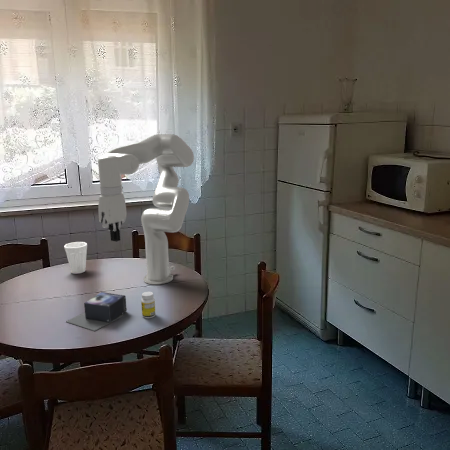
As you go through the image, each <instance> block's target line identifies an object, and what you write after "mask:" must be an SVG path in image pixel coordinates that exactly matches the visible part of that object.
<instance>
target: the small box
mask: <svg viewBox="0 0 450 450" xmlns="http://www.w3.org/2000/svg"><path fill="white" fill-rule="evenodd" d="M83 305H84V307H83V308H84V312H85V317H86V319H91V320H97V321H103V322H109V324H111V323H113V322H114V321H113V320H114V319H116V318H117V317H118V316H120V315H121V314H124V313H125V312H127V310H128V309H127V298H126V295H123V294H117V293H110V292H105V291H103V292H102V291H101V292H99V293H98V294H96V295H95V296H93V297H91V298H90V299H88V300H87V301H85V302H84V304H83ZM116 320H117V319H116ZM112 321H113V322H112ZM110 322H111V323H110Z"/></svg>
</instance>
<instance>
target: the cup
mask: <svg viewBox="0 0 450 450" xmlns="http://www.w3.org/2000/svg"><path fill="white" fill-rule="evenodd" d="M63 247H64V251H65V254H66V257H67V261H68V266H69V268H70V272H71V273H72V274H82V273H84V272H86V269H87V267H86V266H87V252H88V251H87V250H88V243H87V242H85V241H75V242H69V243H65V245H64V246H63ZM71 273H70V274H71Z"/></svg>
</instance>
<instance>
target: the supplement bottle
mask: <svg viewBox="0 0 450 450" xmlns="http://www.w3.org/2000/svg"><path fill="white" fill-rule="evenodd" d="M155 301H156V300H155V298H154V292H152V291H144V292H142V294H141V300H140V303H141V315H142V317H143V318H144V319H152V318H154V317H156V302H155Z"/></svg>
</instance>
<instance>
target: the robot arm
mask: <svg viewBox="0 0 450 450" xmlns="http://www.w3.org/2000/svg"><path fill="white" fill-rule="evenodd" d="M154 159H156V164H157V166H158V172H159V179H158V181H157V184H156V186H155V190H154V192H153V195H152V200H151V202H152V204H153V206H155V207H150V208H146V209H145V210H143V212H142V213H141V216H140V222H141V226H142V229H143V234H144V242H145V246H144V247H145V260H146V263H145V264H146V275H145V276H144V277H143V282H144V283H146V284H149V285H164V284H167V283H170V282H171V281H172V280H173V279H174V275H173V274H171V273H172V271H174V270H176V266H175V265H171V266H170V265H169V264H170V263H169V241H168V237H167V235H166V233H178V231H180V230H181V228H182V226H183V223H184V221H185V218H186V214H187V211H188V208H189V205H190V194H189V191H188V190H187V189H186V188H184V187H180V186H179V187H178V185H179V182H180V179H179V176H178V173H177V171H175V169H174V168H188V167H190V166H192V164H193V163H194V159H195V156H194V151H193V150H192V148H191V147H190V146H189V145H188V144H187V143H186V142H185V141H184V140H183V139H182V138H181V137H180V136H178V135H177V134H170V133H165V134H164V133H163V134H162V133H159V134H158V133H157V134H153V135H151V136H149V137H147V138H145V139H143V140H140V141H139V142H135V143H130V144H127V145H123V146H120V147H117V148H116V147H115V148H114V149H111V150H110V151H109V150H108V151H107V152H105V153H104V154H103V155H101V156H100V157H99V158H98V160H97V164H98V174H99V175H98V178H99V187H100V195H99V196H98V197H99V198H98V207H97V208H98V210H97V211H98V221H99V223H100V224H102V225H101V226H102V228H103V229H108V231H110V232H109V233H110V234H109V235H110V241H111V242H120V241H121V231H120V230H121V229H122V225H123V224H125V222H126V219H127V215H128V214H127V204H126V200H125V196H124V193H123V189H124V187H123V182H122V181H123V180H122V179H123V178H122V175H133V174H134V173H136V172H137V171H138V169H139V168H140V165H142V164H146V163H147V164H148V163H150V162H151V161H154ZM173 281H174V280H173Z"/></svg>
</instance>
